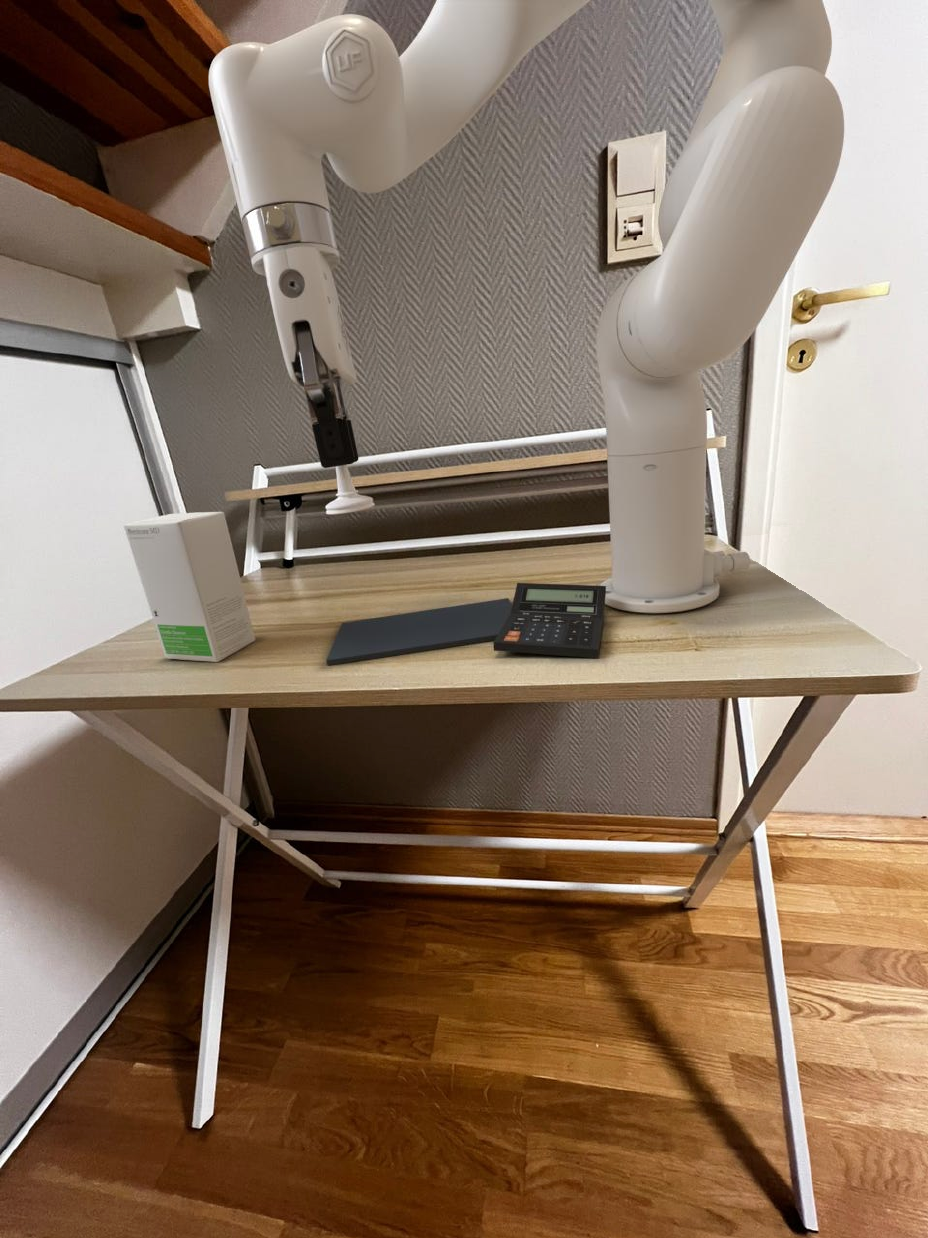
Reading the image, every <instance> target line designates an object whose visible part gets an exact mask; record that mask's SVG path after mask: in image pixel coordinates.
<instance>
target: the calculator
mask: <svg viewBox="0 0 928 1238" xmlns="http://www.w3.org/2000/svg"><path fill="white" fill-rule="evenodd" d="M605 596H606V586H600V585H590V584H589V585H588V584H565V583H564V584H563V583H558V584H557V583H538V582H537V583H536V582H535V583H534V582H533V583H532V582H516V587H515V591H514V596H513V601H512V603H511V605H512V609H511V613H510V615H509V617H508V618H507V620H506V622H505V624H504V625H503V627H502V629H501V630H500V632H499V634H498V635H497V637H496V639H495V640H493V642H492V643H493V651H494V652H505V653H520V654H532V655H533V654H534V655H547V656H559V657H560V656H562V657H575V658H589V659H599V654H600V646H601V641H602V634H603V628H604V618H605V617H604V616H605V606H606V604H605Z"/></svg>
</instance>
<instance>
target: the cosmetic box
mask: <svg viewBox="0 0 928 1238" xmlns="http://www.w3.org/2000/svg"><path fill="white" fill-rule="evenodd" d="M123 528H124V532H125V534H126V537H127V541H128V543H129V547H130V551H131V554H132V557H133V560H134V562H135V566H136V569H137V572H138V575H139V578H140V581H141V585H142V588H143V592H144V594H145V598H146V601H147V604H148V608H149V611H150V613H151V617H152V620H153V624H154V626H155V630H156V632H157V636H158V639H159V640H158V641H159V642H160V645H161V649H162V652H163V655H164V658H165V659H168V660H183V661H199V662H211V663H219V662H221V661H222V660H225V659H226V658H227V657H229V656H231V655H233V654H234V653H236V652H238V651H240V650H242V649H244V648H245V647H247V646H249V645H250V644H252V643H254V642H255V641H256V636H255V632H254V627H253V624H252V620H251V615H250V612H249V608H248V604H247V601H246V600H247V599H246V595H245V592H244V588H243V583H242V580H241V579H242V578H241V576H240V571H239V567H238V563H237V560H236V556H235V551H234V547H233V543H232V539H231V535H230V532H229V527H228V522H227V519H226V514H225V512H224V511H204V512H203V511H202V512H200V511H199V512H198V511H197V512H181V513H180V512H179V513H167V514H164V515H159V516H155V517H150V518H146V519H142V520H138V521H132V522H129V523H126V524H123Z"/></svg>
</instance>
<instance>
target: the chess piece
mask: <svg viewBox="0 0 928 1238" xmlns="http://www.w3.org/2000/svg"><path fill="white" fill-rule="evenodd" d="M335 472H336V473H335V474H336V484H337V493H336V494H335V496H336V497H337V498H335V499H334V500H332V501H330V502H329V503H327V504H326V505H325V510H326V511H325V514H326V515H342V514H350V513H354V512H361V511H364V510H367V509H370V508H373V507H374V506H376V504H375V502H374V498H373V497H371V496H368V495H362V494H358V493H359V490H358V489H356V488H355V485H354V482H353V479H352V476H351V473H350V471H349V468H348V466H347V465H342V466H336V467H335Z"/></svg>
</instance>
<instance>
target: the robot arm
mask: <svg viewBox="0 0 928 1238" xmlns="http://www.w3.org/2000/svg"><path fill="white" fill-rule="evenodd" d="M590 1H591V0H436V1H435V3H434V4H433V7H432V9H431V11H430V13H429V15H428V16H427V18H426V20H425V21H424V24H423V25H422V27H421V29H420V30H419V32H418V33H417V35H416V36H415V37H414V39H413V40H412V42H411V43H410V44H409V45H408V46H407V48H406V49H405V50H404V52H402V54H400V56H399V53H398V50H397V48H396V46H395V44H394V42H393V40H392V39H391V37H390V35H389V34H388V32H387V31H385V29H384V28H383V27H382V26H381V25H380V24H379V23H377V21H374V20H373V19H371V18H369V17H367V16H364V15H362V14H355V13H347V14H346V13H345V14H339V15H335V16H332V17H329V18H327V19H324V20H322V21H319V22H317V23H315V24H313V25H311V26H309V27H306V28H305V29H302V30H301V31H298V32H295V33H294V34H291V35H289V36H287V37H285V38H283V39H280V40H278V41H275V42H272V43H270V44H267V43H264V42H257V41H243V42H238V43H234V44H231V45H228V46H227V47H225V48H223V49H221V51H220V52H218V53H217V54H216V55H215V57H214V58H213V60H212V61H211V64H210V67H209V70H208V88H209V93H210V98H211V99H210V100H211V103H212V107H213V111H214V115H215V119H216V124H217V127H218V131H219V132H218V133H219V136H220V140H221V143H222V148H223V153H224V156H225V160H226V164H227V168H228V169H227V170H228V173H229V178H230V181H231V184H232V189H233V193H234V198H235V201H236V205H237V209H238V213H239V217H240V222H241V226H242V229H243V233H244V238H245V242H246V247H247V251H248V255H249V258H250V262H251V267H252V270H253V271H254V272H255V273H256V274H258V275H260V276H264V277H265V279H266V286H267V288H268V293H269V298H270V303H271V307H272V313H273V317H274V322H275V327H276V330H277V335H278V338H279V343H280V347H281V352H282V355H283V359H284V363H285V366H286V370H287V372H288V376H289V377H290V379H291V381H292V382H293V383H295V384H296V385H298V386H299V387H301V388H302V387H303V390H304V391H303V392H304V395H305V399H306V404H307V407H308V412H309V416H310V421H311V427H312V432H313V436H314V440H315V446H316V450H317V453H318V458H319V463H320V467H322V468H324V469H329V468H336V466H342V465H352V464H354V463H357V462H358V461H359V452H358V447H357V444H356V438H355V434H354V429H353V425H352V420H351V419H350V418H349V411H348V407H347V402H346V398H345V393H344V392H345V391H344V387H343V384H342V381H344V382H345V383H347V384H348V385H351V386H352V385H355V384H356V382H357V380H358V378H357V373H356V369H355V366H354V361H353V357H352V352H351V348H350V344H349V343H350V342H349V338H348V334H347V329H346V325H345V321H344V315H343V310H342V306H341V303H340V302H341V301H340V299H339V294H338V290H337V287H336V283H335V280H334V276H333V273H332V270H333V269H336V268H337V266H339V264H340V263H341V258H340V252H339V246H338V241H337V236H336V232H335V226H334V220H333V215H332V211H331V205H330V200H329V195H328V190H327V185H326V181H325V174H324V169H323V165H322V159H323V157H324V155H325V154H326V157H327V160H328V161H329V163H330V166H331V168H332V170H333V171H334V173H335V174H336V175H337V177H338V179H340V180H341V181H342V182H343V183H344V184H345V185H346V186H348V187H349V188H350V189H353V190H354V191H357V192H359V193H362V194H377V193H381V192H385V191H388V190H389V189H391V188H393V187H394V186H396V185H398V184H399V183H401V182H402V181H404V180H405V179H406V178H407V177H409V176H410V175H411V174H413V173H414V172H415V171H416V170H418V169H419V168H420V167H421V166H422V165H424V164H425V163H426V162H427V161H429V160H430V159H431V158H432V157H434V156H435V155H437V153H438V152H440V151H441V150H442V149H443V148H444V147H446V146H447V144H449V142H451V141H452V140H453V139H454V138H455V137H456V135H458V133H460V132H461V131H462V129H464V128H465V126H466V125H467V124H468V123H469V122H470V121H471V119H472V118H473V117H474V116H475V115H476V114H477V113H478V111H480V109H481V108H482V107H483V106H484V105H485V103H486V102H488V100H489V99H490V98H491V97H492V96H493V95H494V94H495V93H496V91H497V90H498V89H499V88H501V86H502V85H503V84H504V83H505V82H506V80H507V79H508V78H509V77H510V75H511V74H512V73H513V72H514V70H515V69H516V68H517V66H518V65H519V63H520V62H521V61H522V60H523V59H524V58H525V57H526V55H527V54H528V53H530V51H532V50H533V49H534V48H535V47H536V46H537V45H539V43H541V42H542V41H543V40H544V39H545V38H547V37H548V36H549V35H551V33H552V32H555V30H557V29H558V28H559V27H560V26H561V25H562V24H563V23H565V22H566V21H567V20H568V19H570V18H571V17H572V16H573V15H575V13H577V12H579V11H580V10H581V9H582V8H583V7H584V6H585V5H587V4H588V3H589V2H590ZM708 2H709V4H710V8H711V10H712V13H713V15H714V18H715V20H716V23H717V27H718V29H719V34H720V38H721V45H722V46H721V48H722V51H721V58H720V61H719V65H718V68H717V70H716V73H715V75H714V78H713V80H712V83H711V86H710V88H709V91H708V93H707V95H706V98H705V100H704V103H703V105H702V107H701V109H700V111H699V114H698V115H697V118H696V120H695V123H694V124H693V127H692V128H691V131H690V133H689V135H688V138H687V140H686V142H685V144H684V146H683V148H682V151H681V152H680V155H679V156H678V159H677V161H676V163H675V165H674V166H673V169H672V171H671V173H670V175H669V177H668V179H667V182H666V184H665V187H664V189H663V192H662V195H661V200H660V204H659V209H658V217H657V223H658V224H657V225H658V235H659V238H660V242H661V245H662V246H663V248H664V250H663V251H662V253H661V255H660V256H658V257H657V258H656V259H654V260H653V261H651V262H650V263H648V264H647V265H645V266H643V267H642V268H641V269H639V270H638V271H637V272H636V273H634V274H632V275H631V276H630V277H629V278H627V279H626V280H624V282H622V283H621V284H620V285H619V286H618V287H617V288H616V289H615V291H614V292H613V293H612V295H610V297H609V299H608V300H607V302H606V304H605V306H604V307H603V309H602V312H601V314H600V316H599V319H598V324H597V328H596V337H595V351H596V362H597V368H598V375H599V379H600V380H599V381H600V386H601V392H602V398H603V399H602V400H603V407H604V417H605V419H604V420H605V433H606V459H607V463H606V464H607V484H608V487H607V488H608V510H609V511H608V513H609V534H610V557H611V559H610V560H611V577H609V578H607V579H605V580H604V581H602V582H601V583H600V584H599V586H606V596H605V606H606V605H607V606H608V607H611V608H614V609H617V610H621V611H626V612H631V613H640V614H641V613H642V614H668V613H679V612H684V611H690V610H694V609H698V608H702V607H704V606H707V605H709V604H711V603H713V602H714V601H715V600H716V599H717V598H718V597H720V582H719V581H718V580H717V579H716V577H720V576H721V574H722V573H723V572H738V571H744V570H748V569H749V568H750V566H751V557H750V555H749V553H748V552H747V551H740V552H733V553H728V554H725V551H724V550H719V551H713V552H712V551H710V550H707V549H705V543H706V542H705V537H706V536H705V535H706V533H705V532H706V490H707V489H706V485H707V444H708V416H707V404H706V399H705V392H704V388H703V384H702V380H701V376H700V371H704V370H707V369H709V368H712V367H715V366H717V365H719V364H721V363H722V362H725V361H726V360H727V359H729V358H731V357H732V356H733V355H734V354H736V352H738V351H739V350H740V349H741V347H743V346H744V344H745V343H747V341H748V340H749V338H750V337H751V336H752V334H753V333H754V332H755V331H756V329H757V327H758V326H759V325H760V323H761V322H762V320H763V318H764V316H765V315H766V313H767V311H768V309H769V307H770V305H771V304H772V302H773V300H774V298H775V297H776V295H777V292H778V290H779V289H780V287H781V286H782V283H783V281H784V279H785V278H786V275H787V273H788V272H789V270H790V268H791V266H792V264H793V262H794V260H795V258H796V257H797V255H798V253H799V251H800V249H801V247H802V245H803V243H804V241H805V239H806V238H807V236H808V234H809V232H810V230H811V228H812V226H813V224H814V222H815V220H816V218H817V216H818V215H819V213H820V210H821V209H822V206H823V205H824V203H825V201H826V198H827V197H828V194H829V192H830V190H831V188H832V186H833V183H834V181H835V178H836V175H837V173H838V170H839V166H840V162H841V159H842V152H843V147H844V140H845V115H844V109H843V105H842V101H841V98H840V95H839V93H838V91H837V89H836V87H835V86H834V84H833V83H832V82H831V81H830V79H829V78H827V76H826V73H827V70H828V67H829V64H830V60H831V56H832V50H833V49H832V48H833V39H832V29H831V28H832V27H831V23H830V20H829V18H828V15H827V11H826V7H825V4H824V1H823V0H708Z"/></svg>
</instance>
